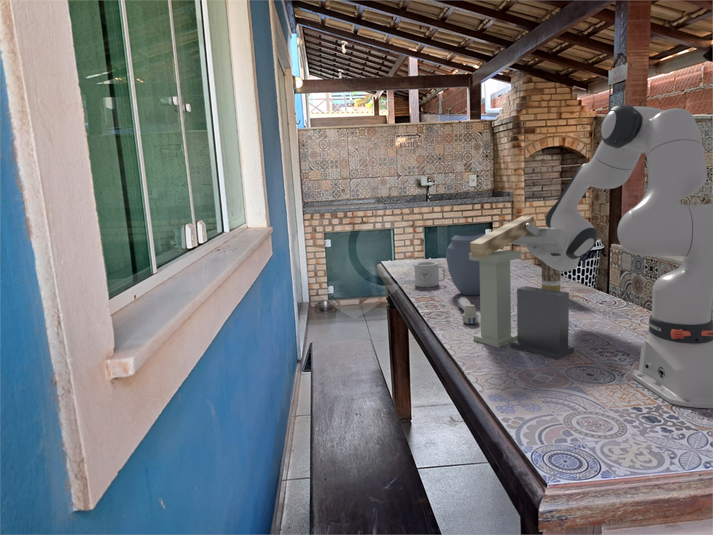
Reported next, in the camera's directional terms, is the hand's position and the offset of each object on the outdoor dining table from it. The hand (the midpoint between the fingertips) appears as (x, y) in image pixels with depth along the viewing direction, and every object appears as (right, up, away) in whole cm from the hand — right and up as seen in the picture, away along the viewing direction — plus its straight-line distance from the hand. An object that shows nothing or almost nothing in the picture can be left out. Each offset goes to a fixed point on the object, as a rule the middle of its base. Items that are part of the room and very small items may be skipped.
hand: (518, 225), depth 150 cm
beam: (-5, -5, -3) cm, 8 cm away
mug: (-14, -20, +81) cm, 84 cm away
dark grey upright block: (+3, -35, -11) cm, 37 cm away
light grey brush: (-9, -29, +28) cm, 42 cm away
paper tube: (+28, -23, +50) cm, 62 cm away
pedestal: (-7, -34, -1) cm, 34 cm away
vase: (0, -23, +59) cm, 64 cm away
